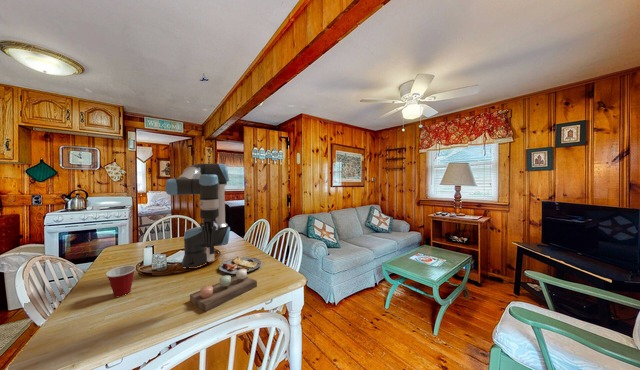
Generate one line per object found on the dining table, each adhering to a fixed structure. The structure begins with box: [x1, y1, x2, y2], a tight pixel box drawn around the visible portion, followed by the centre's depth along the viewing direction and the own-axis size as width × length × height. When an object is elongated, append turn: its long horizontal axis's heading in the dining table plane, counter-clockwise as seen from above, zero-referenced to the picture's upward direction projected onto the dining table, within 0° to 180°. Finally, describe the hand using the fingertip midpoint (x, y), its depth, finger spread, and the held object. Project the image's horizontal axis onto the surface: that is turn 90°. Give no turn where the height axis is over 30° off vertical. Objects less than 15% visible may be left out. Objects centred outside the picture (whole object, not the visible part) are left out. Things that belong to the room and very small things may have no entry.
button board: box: [189, 275, 258, 313], centre depth 106 cm, size 14×26×3 cm, turn 144°
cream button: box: [235, 269, 248, 279], centre depth 113 cm, size 5×5×3 cm
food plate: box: [218, 256, 263, 275], centre depth 137 cm, size 25×23×4 cm
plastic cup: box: [105, 264, 137, 297], centre depth 106 cm, size 11×11×12 cm
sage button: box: [219, 274, 232, 286], centre depth 106 cm, size 5×5×3 cm
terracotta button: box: [199, 285, 213, 298], centre depth 99 cm, size 5×5×3 cm
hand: (210, 260), depth 100 cm, fingers closed
